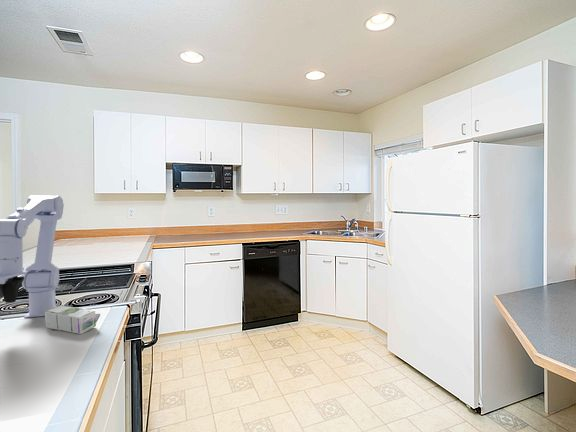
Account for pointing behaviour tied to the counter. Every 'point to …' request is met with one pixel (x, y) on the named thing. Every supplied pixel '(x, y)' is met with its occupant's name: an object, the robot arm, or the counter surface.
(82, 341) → the counter surface
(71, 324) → the syrup box
